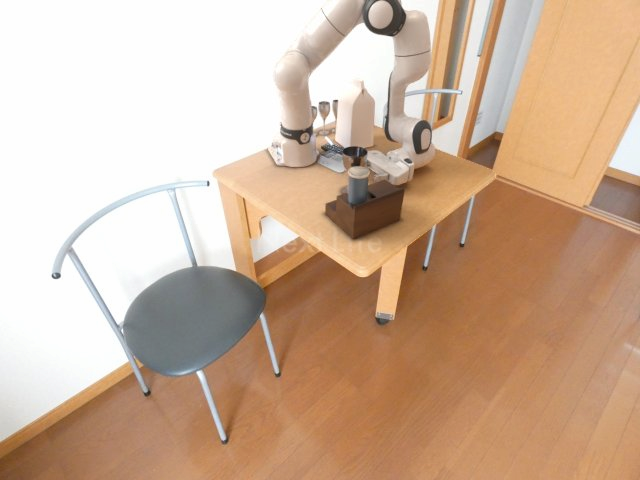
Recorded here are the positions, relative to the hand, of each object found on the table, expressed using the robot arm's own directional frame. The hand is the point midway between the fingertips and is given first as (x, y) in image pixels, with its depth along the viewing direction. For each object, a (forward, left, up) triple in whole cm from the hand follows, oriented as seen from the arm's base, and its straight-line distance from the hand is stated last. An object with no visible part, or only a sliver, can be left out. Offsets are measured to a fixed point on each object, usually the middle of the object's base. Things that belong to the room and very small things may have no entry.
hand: (365, 172), depth 126 cm
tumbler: (+17, -16, +4) cm, 23 cm away
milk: (-31, +18, -6) cm, 36 cm away
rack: (+14, -11, -6) cm, 19 cm away
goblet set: (-46, +19, -6) cm, 50 cm away
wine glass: (0, -5, -6) cm, 8 cm away
